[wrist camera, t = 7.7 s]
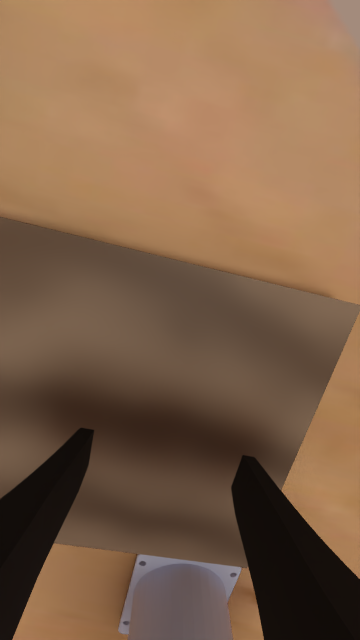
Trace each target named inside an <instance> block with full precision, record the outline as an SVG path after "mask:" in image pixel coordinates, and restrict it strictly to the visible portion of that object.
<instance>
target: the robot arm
mask: <svg viewBox="0 0 360 640" xmlns="http://www.w3.org/2000/svg"><path fill="white" fill-rule="evenodd" d="M93 435H94V430H92V429H86V428H79V429H78V430H77V431H76V432H75V433H74V434H73V435H72V436H71V437H70V438H69V439H68V440H67V441H66V442H65V443H64V444H63V445H62V446H61V447H60V448H59V449H58V450H57V451H56V452H55V453H54V454H53V455H51V456H50V457H49V458H48V459H47V460H46V461H45V462H44V463H43V464H42V465H40V466H39V467H38V468H37V469H36V470H35V471H34V472H32V473H31V474H30V475H29V476H28V477H26V478H25V479H24V480H23V481H22V482H20V483H19V484H18V485H17V486H16V487H14V488H13V489H12V490H11V491H9V492H8V493H7V494H6V495H4V496H3V497H2V498H0V640H12V639H13V636H14V634H15V631H16V629H17V626H18V624H19V621H20V619H21V617H22V614H23V612H24V609H25V607H26V604H27V602H28V600H29V597H30V595H31V592H32V590H33V587H34V585H35V582H36V580H37V578H38V575H39V573H40V571H41V569H42V567H43V564H44V562H45V560H46V558H47V556H48V554H49V552H50V550H51V548H52V546H53V543H54V541H55V539H56V537H57V535H58V533H59V531H60V529H61V527H62V525H63V523H64V521H65V519H66V517H67V515H68V513H69V511H70V508H71V506H72V504H73V502H74V500H75V498H76V496H77V494H78V492H79V489H80V487H81V484H82V482H83V479H84V476H85V474H86V471H87V468H88V466H89V460H90V454H91V447H92V441H93ZM231 491H232V498H233V505H234V511H235V516H236V520H237V524H238V528H239V532H240V536H241V540H242V544H243V548H244V551H245V555H246V559H247V563H248V567H249V571H250V575H251V579H252V582H253V586H254V591H255V595H256V600H257V604H258V609H259V615H260V620H261V625H262V631H263V636H264V640H360V579H359V578H358V577H357V576H356V575H355V574H354V573H353V572H352V571H351V570H350V569H349V568H348V567H347V566H346V565H345V564H344V563H343V562H342V561H341V560H340V558H339V557H338V556H337V555H336V554H335V553H334V552H333V551H332V550H331V549H330V548H329V547H328V546H327V545H326V544H325V542H324V541H323V540H322V539H321V538H320V537H319V536H318V535H317V534H316V532H315V531H314V530H313V529H312V528H311V527H310V525H309V524H308V523H307V522H306V521H305V520H304V518H303V517H302V516H301V515H300V514H299V512H298V511H297V510H296V509H295V508H294V506H293V505H292V504H291V503H290V501H289V500H288V499H287V498H286V496H285V495H284V494H283V493H282V491H281V490H280V489H279V488H278V486H277V485H276V484H275V482H274V481H273V480H272V479H271V477H270V476H269V475H268V473H267V472H266V471H265V469H264V468H263V467H262V466H261V464H260V463H259V462H258V461H257V459H256V458H255V457H252V456H246V455H242V458H241V461H240V464H239V466H238V469H237V472H236V475H235V478H234V480H233V483H232V486H231ZM240 572H241V567H235V566H227V565H219V564H211V563H204V562H196V561H188V560H181V559H173V558H165V557H157V556H150V555H142V554H137V558H136V561H135V565H134V569H133V573H132V577H131V580H130V584H129V588H128V592H127V596H126V600H125V603H124V607H123V611H122V615H121V619H120V622H119V628H118V630H119V632H120V633H121V634H128V640H233V635H232V629H231V622H230V616H229V610H228V603H227V602H228V600H229V598H230V595H231V593H232V591H233V588H234V586H235V584H236V581H237V579H238V577H239V574H240Z"/></svg>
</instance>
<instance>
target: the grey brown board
mask: <svg viewBox="0 0 360 640" xmlns="http://www.w3.org/2000/svg"><path fill="white" fill-rule="evenodd" d="M359 311H360V305H358V304H354V303H350V302H346V301H342V300H338V299H333V298H329V297H325V296H321V295H317V294H313V293H309V292H305V291H301V290H297V289H293V288H288V287H284V286H280V285H276V284H272V283H268V282H264V281H260V280H256V279H252V278H248V277H244V276H239V275H235V274H231V273H227V272H223V271H219V270H215V269H211V268H207V267H203V266H199V265H195V264H190V263H186V262H182V261H178V260H174V259H170V258H166V257H162V256H158V255H154V254H150V253H145V252H141V251H137V250H133V249H129V248H125V247H121V246H117V245H113V244H109V243H105V242H101V241H96V240H92V239H88V238H84V237H80V236H76V235H72V234H68V233H64V232H60V231H56V230H52V229H47V228H43V227H39V226H35V225H31V224H27V223H23V222H19V221H15V220H11V219H7V218H3V217H0V498H2V497H3V496H4V495H6V494H7V493H8V492H9V491H11V490H12V489H13V488H14V487H16V486H17V485H18V484H19V483H20V482H22V481H23V480H24V479H25V478H26V477H28V476H29V475H30V474H31V473H32V472H34V471H35V470H36V469H37V468H38V467H39V466H40V465H42V464H43V463H44V462H45V461H46V460H47V459H48V458H49V457H50V456H51V455H53V454H54V453H55V452H56V451H57V450H58V449H59V448H60V447H61V446H62V445H63V444H64V443H65V442H66V441H67V440H68V439H69V438H70V437H71V436H72V435H73V434H74V433H75V432H76V431H77V430H78V429H79V428H86V429H92V430H94V435H93V441H92V447H91V454H90V460H89V466H88V468H87V471H86V474H85V476H84V479H83V482H82V484H81V487H80V489H79V492H78V494H77V496H76V498H75V500H74V502H73V504H72V506H71V508H70V511H69V513H68V515H67V517H66V519H65V521H64V523H63V525H62V527H61V529H60V531H59V533H58V535H57V537H56V539H55V541H54V543H57V544H65V545H72V546H80V547H88V548H96V549H103V550H111V551H119V552H126V553H134V554H142V555H150V556H157V557H165V558H173V559H181V560H188V561H196V562H204V563H211V564H219V565H227V566H235V567H242V568H247V567H248V563H247V559H246V555H245V551H244V548H243V544H242V540H241V536H240V532H239V528H238V524H237V520H236V516H235V511H234V505H233V498H232V491H231V486H232V483H233V480H234V478H235V475H236V472H237V469H238V466H239V464H240V461H241V458H242V455H246V456H252V457H255V458H256V459H257V461H258V462H259V463H260V464H261V466H262V467H263V468H264V469H265V471H266V472H267V473H268V475H269V476H270V477H271V479H272V480H273V481H274V482H275V484H276V485H277V486H278V488H279V489H280V490H281V489H282V487H283V485H284V482H285V480H286V478H287V476H288V473H289V471H290V469H291V466H292V464H293V462H294V460H295V457H296V455H297V453H298V450H299V448H300V446H301V444H302V441H303V439H304V437H305V435H306V432H307V430H308V428H309V425H310V423H311V421H312V419H313V416H314V414H315V412H316V409H317V407H318V405H319V403H320V400H321V398H322V396H323V394H324V391H325V389H326V387H327V384H328V382H329V380H330V378H331V375H332V373H333V371H334V368H335V366H336V364H337V362H338V359H339V357H340V355H341V352H342V350H343V348H344V346H345V343H346V341H347V339H348V337H349V334H350V332H351V330H352V327H353V325H354V323H355V321H356V318H357V316H358V314H359Z"/></svg>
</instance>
